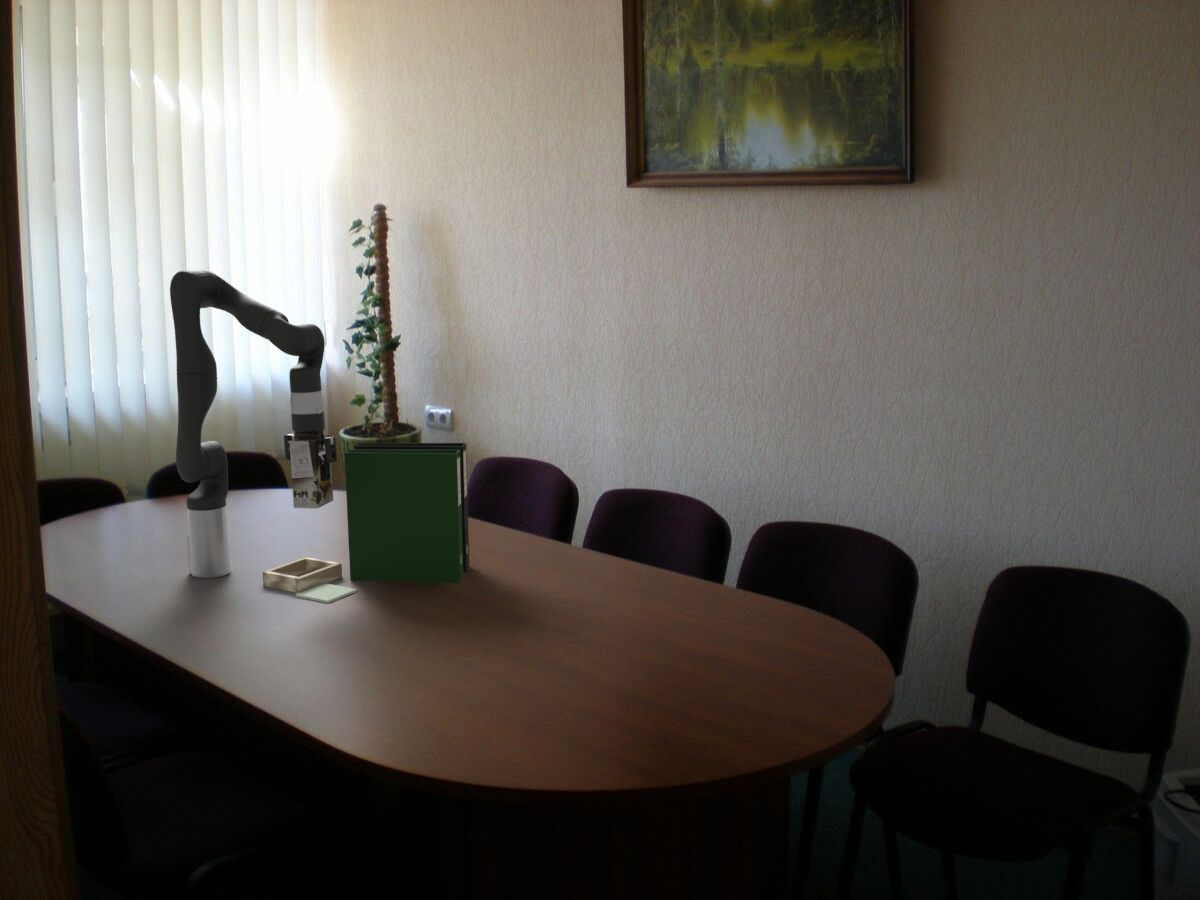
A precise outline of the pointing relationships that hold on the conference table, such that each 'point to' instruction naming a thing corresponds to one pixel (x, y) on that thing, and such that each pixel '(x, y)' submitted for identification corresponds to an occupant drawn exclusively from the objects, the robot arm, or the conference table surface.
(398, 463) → the binder
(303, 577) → the pocket frame
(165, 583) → the conference table surface
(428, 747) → the conference table surface
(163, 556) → the conference table surface
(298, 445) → the coffee box
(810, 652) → the conference table surface
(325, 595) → the mat
